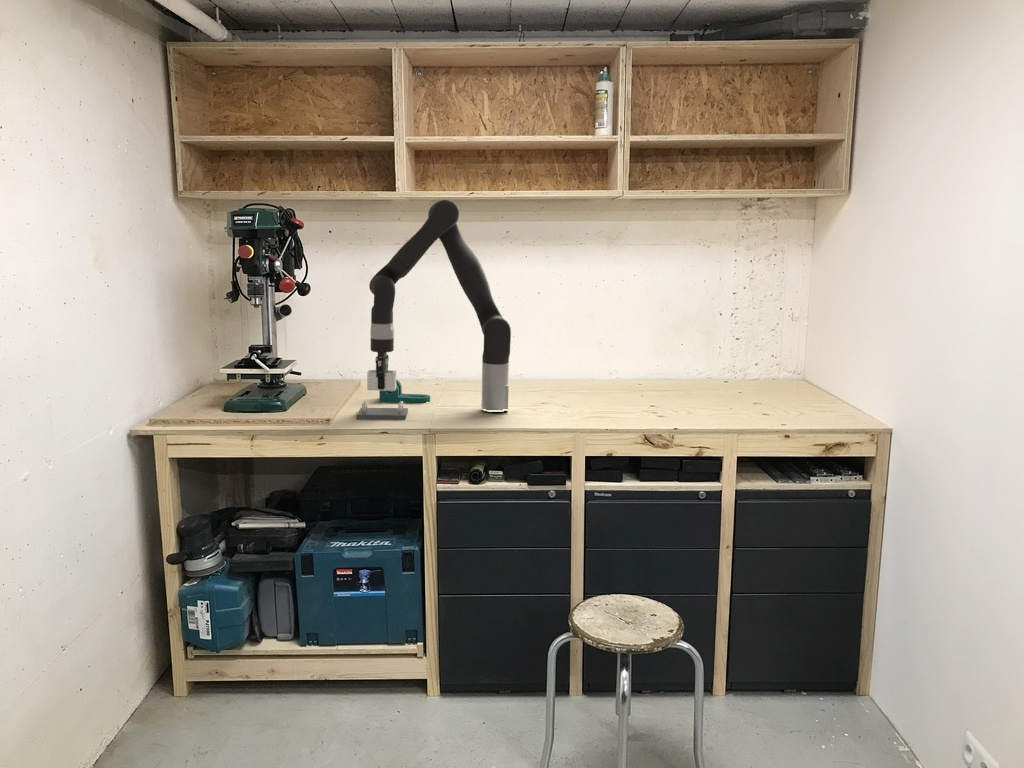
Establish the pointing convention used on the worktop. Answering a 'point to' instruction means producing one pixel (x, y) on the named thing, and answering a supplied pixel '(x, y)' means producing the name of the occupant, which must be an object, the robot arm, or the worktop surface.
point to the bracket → (402, 396)
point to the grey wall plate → (382, 412)
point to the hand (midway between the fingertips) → (382, 387)
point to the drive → (389, 380)
